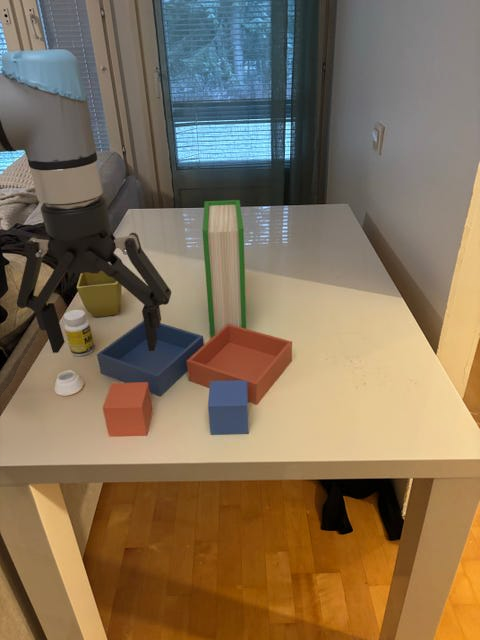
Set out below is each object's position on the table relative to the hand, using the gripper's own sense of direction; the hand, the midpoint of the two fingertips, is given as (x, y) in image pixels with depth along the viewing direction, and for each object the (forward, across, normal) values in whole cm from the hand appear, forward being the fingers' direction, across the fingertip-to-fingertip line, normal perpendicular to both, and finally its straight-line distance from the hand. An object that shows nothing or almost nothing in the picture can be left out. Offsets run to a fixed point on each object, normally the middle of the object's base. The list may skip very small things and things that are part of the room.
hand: (105, 346), depth 66 cm
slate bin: (+16, -2, -18) cm, 24 cm away
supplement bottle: (+16, +14, -23) cm, 31 cm away
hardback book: (+17, -15, -34) cm, 41 cm away
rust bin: (+16, -18, -15) cm, 29 cm away
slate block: (+16, -17, -2) cm, 24 cm away
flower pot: (+16, +13, -38) cm, 44 cm away
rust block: (+16, -1, -2) cm, 16 cm away
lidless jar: (+16, +13, -11) cm, 23 cm away
